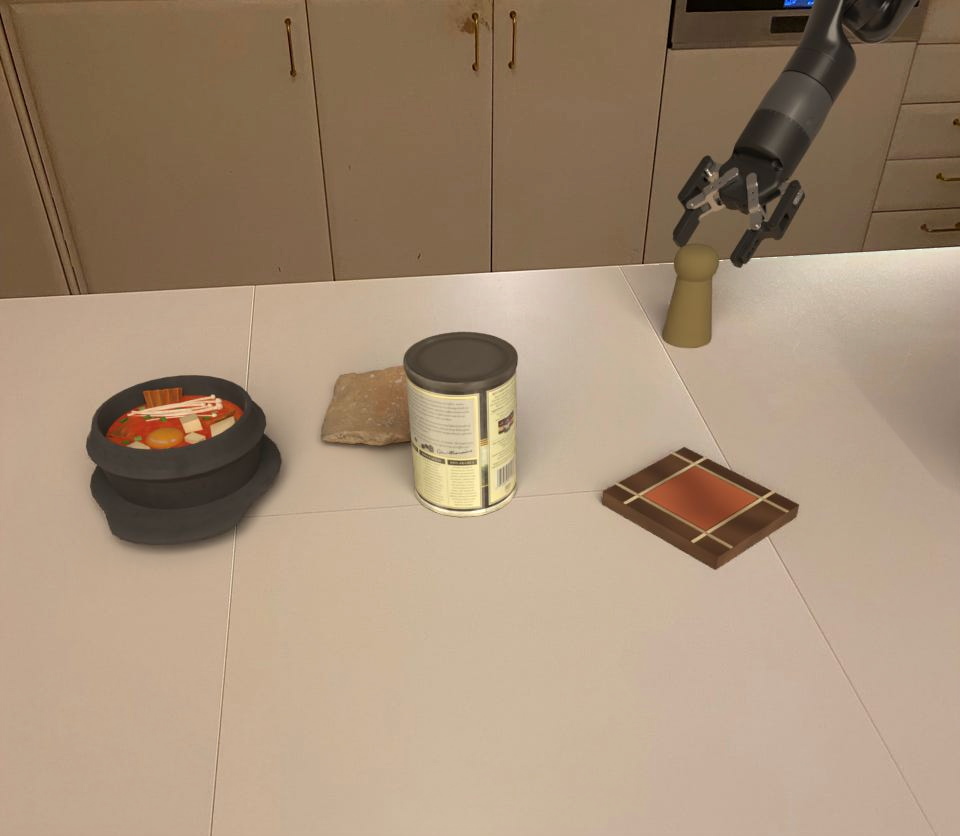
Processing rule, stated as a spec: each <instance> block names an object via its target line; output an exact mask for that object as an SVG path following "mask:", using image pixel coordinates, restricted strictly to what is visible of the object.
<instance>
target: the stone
mask: <svg viewBox="0 0 960 836" xmlns="http://www.w3.org/2000/svg"><path fill="white" fill-rule="evenodd" d="M324 415H325V416H324V420H323V423H322V426H321V434H320V440H322V441H323V442H326V443H339V444H351V445H353V444H361V443H362V444H365V445H368V446H378V447H379V446H385V445H390V444H397V443H403V442H404V443H405V442H411V432H410V420H409V407H408V395H407V383H406V372H405V369H404V364H403V365H397V366H390V367H387V368H384V369H375V370H369V371H365V372H360V373H356V372H349V373H344V374H341V375H339V376H338V378H337V379H336V381H335V383H334V388H333V396H332V398H331V401H330V403H329V405H328V408H327V409H326V413H325V414H324Z"/></svg>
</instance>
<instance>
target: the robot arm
mask: <svg viewBox="0 0 960 836" xmlns="http://www.w3.org/2000/svg"><path fill="white" fill-rule="evenodd" d="M917 2H919V0H813V3H812V6H811V9H810V13H809V16H808V19H807V22H806V25H805V27H804V30H803V33H802V35H801V38H800V40H799V43H798V45H797V46H796V48H795V50H794V51H793V53H792V55H791V56H790V58H789V60H788V61H787V63H786V64H785V65H784V68H783V69H782V71H781V73H780V74H779V76H777V79H776V80H775V81H774V82H773V84H772V85H771V86H770V87H769V89H768V90H767V91H766V93H765V95H764V96H763V98H762V100H761V101H760V103H759V104H758V106H757V107H756V109H755V111H754V113H753V114H752V116H751V117H750V119H749V120H748V121H747V123H746V125H745V127H744V129H743V130H742V131H741V133H740V135H739V137H738V138H737V140H736V142H735V143H734V146H733V150H732V153H731V155H730V157H729V158H728V159H727V160H726V161H725V162H724V163H719V162H716V161H714V160H713V158H712V157H711V156H710V155H708V154H707V155H704V156H703V157H702V159H701V160H700V161H699V163H698V164H697V166H696V168H695V169H694V170H693V172H692V173H691V175H690V177H689V178H688V179H687V181H686V182H685V183H684V185H683V186H682V188H681V190H680V191H679V193H678V194H677V200H678V201H679V202H680V204H681V205H682V207H683V209H684V213H682V216H681V217H680V219H679V220H678V221H677V222H678V223H677V224H676V225H675V227H674V229H673V231H672V241H673V242H674V244H675V245H676V246H677V247H679V248H681V247H683V246H685V245H688V242H689V241H690V239H691V238H692V237H693V234H694V233H695V231H696V229H697V228H698V226H699V225H700V223H701V221H700V220H701V219H703V218H704V217H706V216H707V215H709V214H711V213H712V212H713V213H717V212H719V211H721V210H722V209H724V208H725V209H728V210H730V211H738V212H740V213H741V214H743V215H746V216H748V215H749V222H750V229H748V228H746V230H745V231H744V233H743V235H742V236H741V238H740V240H739V241H738V243H737V244H736V246H735V247H734V249H733V251H731V254H730V256H729V261H730V262H731V264H732V266H733V267H735V268H738V269H741V268H742V267H743V266H744V265H747V264H748V263H749V262H750V260H751V259H752V257H753V256H754V254H755V252H756V251H757V249H758V248H759V246H760V245H761V243H762V242H764V241H765V240H766V239H773V240H774V241H780V240H781V239H782V238H783V237H784V236H785V234H786V232H787V231H788V228H789V226H790V225H791V223H792V221H793V219H794V218H795V216H796V214H797V212H798V211H799V209H800V207H801V205H802V203H803V202H804V200H805V199H806V193H805V191H804V189H803V188H802V187H803V186H802V185H801V183H800V181H799V180H798V179H793V180H791V181H790V182H787V181H789V180H790V179H791V177H792V176H793V174H794V173H795V171H796V170H797V168H798V166H799V165H800V163H801V161H802V159H803V158H804V157H805V155H806V153H807V152H808V151H809V149H810V147H811V146H812V144H813V142H814V140H815V139H816V137H817V136H818V134H819V133H820V131H821V129H822V127H823V126H824V124H825V122H826V120H827V117H828V115H829V113H830V111H831V110H832V107H833V106H834V104H835V103H836V101H837V99H838V98H839V96H840V95H841V93H842V92H843V90H844V89H845V87H846V86H847V84H848V82H849V80H850V79H851V77H852V75H853V73H854V71H855V70H856V66H857V56H856V55H857V54H856V52H855V49H854V48H853V46H852V44H851V43H850V40H849V39H848V38H847V36H846V33H845V32H844V28H845V29H846V31H848V32H849V33H850V34H851V35H852V36H853V37H854V38H855V39H856V40H858V41H859V42H861V43H863V44H864V45H877V44H880V43H883V42H885V41H887V40H888V39H890V38H891V37H893V35H894V34H895V33H896V32H897V31H898V29H900V27H901V26H902V24H903V23H904V22H905V20H906V18H907V17H908V15H909V14H910V12H911V11H912V9H913V8H914V6H915V5H916V4H917ZM717 193H718V197H715V194H717ZM777 198H779V201H778V203H777V205H776V206H775V208H774V210H773V212H772V213H771V216H770V217H769V215H768V213H769V211H768V204H769V203H771V202H773V201H774V200H775V199H777Z"/></svg>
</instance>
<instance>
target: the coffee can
mask: <svg viewBox="0 0 960 836" xmlns="http://www.w3.org/2000/svg"><path fill="white" fill-rule="evenodd" d="M518 363H519V355H518V351H517V350H516V348H515V347H514V346H513V344H511V343H510V342H508V341H507V340H505V339H503V338H501V337H499V336H496V335H492V334H489V333H483V332H477V331H476V332H475V331H451V332H445V333H439V334H435V335H432V336H428V337H426V338H423V339H421V340H419V341H417V342H414V344H412V345H411V346H410V347H409V348H408V349H407V350H406V352H405V353H404V355H403V359H402V364H403V365H404V369H405V372H406V383H407V395H408V407H409V420H410V432H411V441H410V443H411V453H412V465H413V478H414V479H413V480H414V488H413V489H414V495H415V497H416V499H417V500H418V502H419V503H420V504H421V505H422V506H423V507H424V508H426V509H428V510H431V511H432V512H434V513H437V514H439V515H444V516H450V517H458V518H466V517H468V518H469V517H478V516H479V517H480V516H483V515H488V514H491V513H495V512H496V511H499V510H500V509H501V508H504V507H505V506H506V505H507V504H509V503H510V502H511V501H512V500H513V499H514V497H515V495H516V492H517V490H518V483H517V367H518Z"/></svg>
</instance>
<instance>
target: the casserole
mask: <svg viewBox="0 0 960 836" xmlns="http://www.w3.org/2000/svg"><path fill="white" fill-rule="evenodd" d="M266 417H267V415H266V414H265V412H264V410H263V409H262V407H261V406H260V405H259V404H257V403H256V402H255V401H254V400H253V399H252V397H251V395H250V394H249V392H248V391H247V390H245V388H244V387H242V386H241V385H239V384H237V383H236V382H234V381H231V380H227V379H226V378H221V377H217V376H212V375H199V374H183V375H181V374H180V375H174V376H171V375H170V376H165V377H160V378H155V379H154V378H153V379H150V380H147V381H144V382H140V383H137V384H134V385H132V386H129V387H126V388H124V389H123V390H121V391H119V392H117V393H116V394H114V395H112V396H110V397H109V398H107V400H105V401H104V402H103V403H102V404H101V405H100V406H99V407H98V408H97V409H96V411H95V412H94V414H93V415H92V418H91V425H90V430H89V433H88V435H87V437H86V443H85V449H86V452H87V456H88V457H89V459H90V460H91V461H92V463H94V464H95V465H96V466H95V468H94V470H93V472H92V474H91V476H90V483H89V488H90V489H89V490H90V492H91V496H92V498H93V499H94V501H95V502H96V503H97V505H98V506H99V507H100V509H101V510H102V512H103V513H104V514H105V517H106V521H107V525H108V527H109V530H110V532H111V534H112V535H113V536H115V537H116V538H118V539H119V540H121V541H125V542H128V543H132V544H140V545H149V546H157V545H160V546H162V545H163V546H164V545H178V544H179V545H180V544H184V543H185V544H186V543H192V542H197V541H201V540H205V539H209V538H213V537H216V536H219V535H221V534H223V533H227V532H229V531H230V530H232V529H234V528H235V527H236V526H238V525H239V524H240V523H241V522H242V520H243V519H244V518H245V516H246V515H247V514H248V512H249V510H250V508H251V507H252V505H253V503H254V502H255V501H256V500H257V499H258V498H259V497H260V496H261V495H262V494H263V493H264V492H265V491H266V490H267V489H268V488H269V487H270V486H271V485H272V484H273V483H274V481H275V480H276V478H277V477H278V475H279V473H280V470H281V467H282V461H283V460H282V454H281V451H280V449H279V448H278V446H277V444H276V442H274V441H273V439H271V438H270V437H269V436H268V435H267V434H266V433H265V430H266V428H267V418H266Z"/></svg>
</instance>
